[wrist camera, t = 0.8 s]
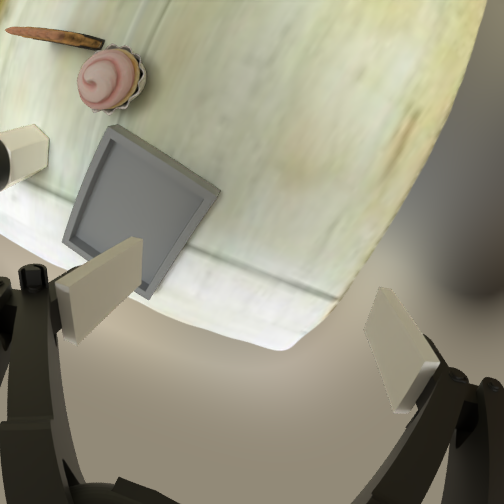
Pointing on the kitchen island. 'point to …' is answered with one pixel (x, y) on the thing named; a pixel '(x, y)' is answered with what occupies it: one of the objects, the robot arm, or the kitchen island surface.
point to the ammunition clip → (58, 37)
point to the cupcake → (111, 79)
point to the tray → (137, 204)
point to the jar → (22, 154)
